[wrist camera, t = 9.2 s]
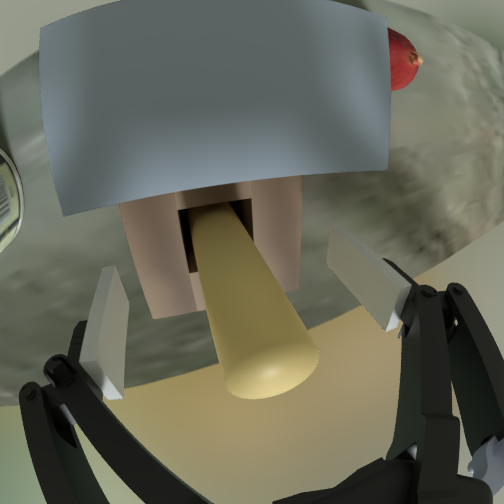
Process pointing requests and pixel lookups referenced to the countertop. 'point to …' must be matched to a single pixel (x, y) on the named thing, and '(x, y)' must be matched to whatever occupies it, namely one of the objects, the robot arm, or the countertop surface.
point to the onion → (402, 60)
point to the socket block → (182, 252)
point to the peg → (247, 309)
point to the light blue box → (210, 95)
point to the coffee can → (9, 201)
